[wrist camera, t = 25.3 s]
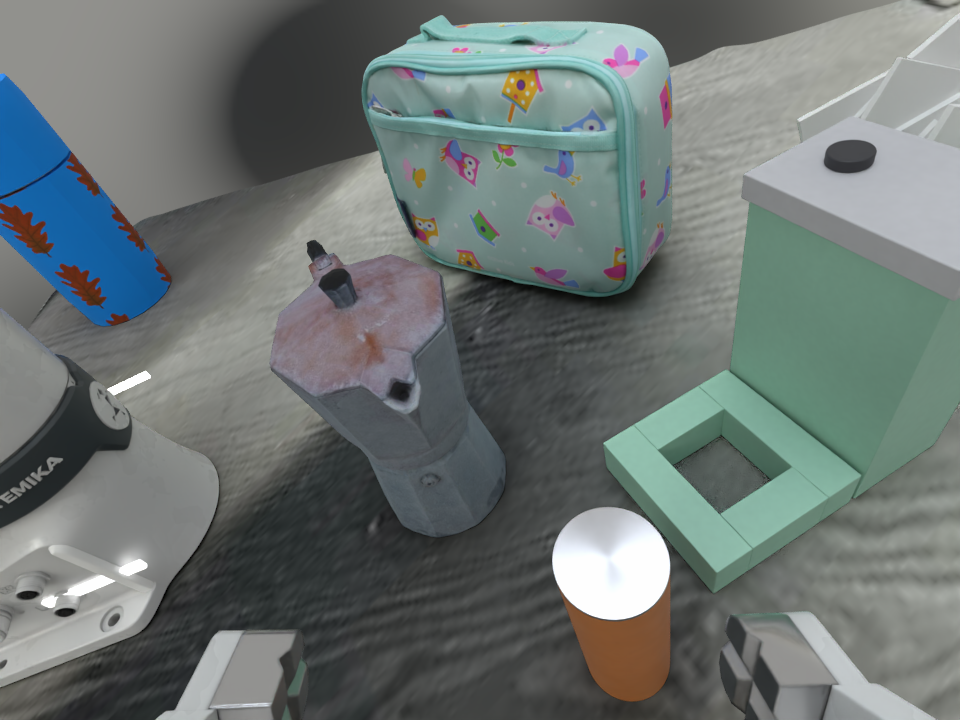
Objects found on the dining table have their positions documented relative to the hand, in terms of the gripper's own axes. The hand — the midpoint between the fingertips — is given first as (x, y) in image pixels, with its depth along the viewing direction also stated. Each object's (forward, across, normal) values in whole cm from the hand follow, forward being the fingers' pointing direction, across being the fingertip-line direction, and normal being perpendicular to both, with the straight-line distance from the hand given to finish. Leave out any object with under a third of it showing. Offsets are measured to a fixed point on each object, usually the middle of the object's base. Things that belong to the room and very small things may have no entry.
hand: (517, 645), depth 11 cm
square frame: (+22, -15, +10) cm, 29 cm away
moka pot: (+27, +2, +13) cm, 30 cm away
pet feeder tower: (+24, -23, +7) cm, 34 cm away
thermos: (+62, +42, +7) cm, 75 cm away
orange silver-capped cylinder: (+14, -8, +16) cm, 23 cm away
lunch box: (+48, -6, 0) cm, 48 cm away
